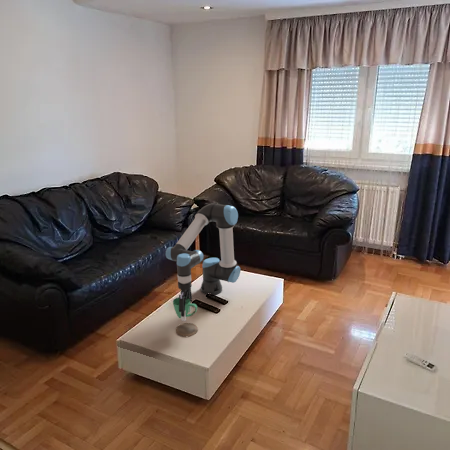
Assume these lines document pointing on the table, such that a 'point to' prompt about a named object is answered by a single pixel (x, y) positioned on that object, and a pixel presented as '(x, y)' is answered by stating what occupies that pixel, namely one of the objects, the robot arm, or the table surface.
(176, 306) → the mug
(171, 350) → the table surface
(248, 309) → the table surface
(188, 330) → the plate
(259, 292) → the table surface
